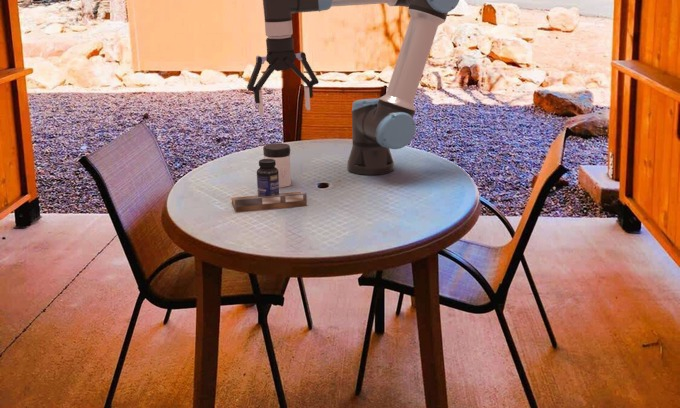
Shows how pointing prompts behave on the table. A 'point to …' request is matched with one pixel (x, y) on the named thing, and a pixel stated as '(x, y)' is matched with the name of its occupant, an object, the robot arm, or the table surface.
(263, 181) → the pill bottle
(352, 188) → the table surface
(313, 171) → the table surface
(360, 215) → the table surface
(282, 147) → the jar
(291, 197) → the wooden compartment tray
